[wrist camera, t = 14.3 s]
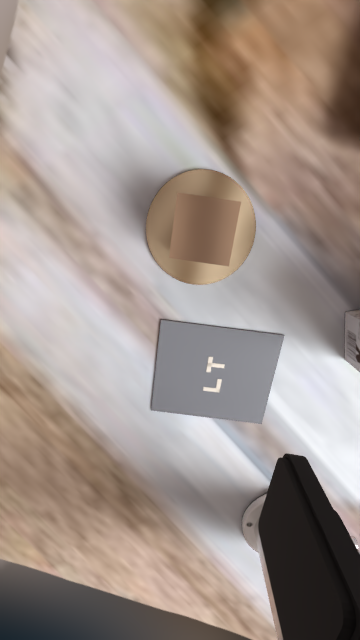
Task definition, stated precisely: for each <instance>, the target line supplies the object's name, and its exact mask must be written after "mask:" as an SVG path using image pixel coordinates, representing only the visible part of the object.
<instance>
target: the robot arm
mask: <svg viewBox="0 0 360 640" xmlns="http://www.w3.org/2000/svg"><path fill="white" fill-rule="evenodd" d="M242 529H243V534H244V537H245V540H246V541H247V543H248V545H249V546H250V547H251V548H252V549H253V550H255V551H256V552H258V553H259V556H260V561H261V565H262V570H263V574H264V579H265V583H266V588H267V592H268V597H269V601H270V606H271V611H272V615H273V620H274V624H275V629H276V633H277V638H278V640H360V552H359V550H358V549H357V548H358V544H357V540H356V538H355V537H353V536H350V535H349V533H348V531H347V529H346V527H345V525H344V524H343V522H342V520H341V518H340V516H339V515H338V513H337V512H336V511H335V510H334V509H333V508H332V506H331V504H330V502H329V500H328V498H327V496H326V494H325V493H324V491H323V489H322V487H321V485H320V483H319V481H318V479H317V477H316V475H315V473H314V472H313V470H312V468H311V466H310V464H309V462H308V460H307V459H306V457H304V456H299V455H293V454H285V455H284V456H283V458H278V460H277V463H276V466H275V470H274V473H273V476H272V479H271V482H270V485H269V489H268V492H267V494H265V495H263V496H261V497H259V498H258V499H256V500H255V501H254V502H252V503H251V505H250V506H249V507H248V508H247V510H246V511H245V513H244V516H243V519H242Z"/></svg>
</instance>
